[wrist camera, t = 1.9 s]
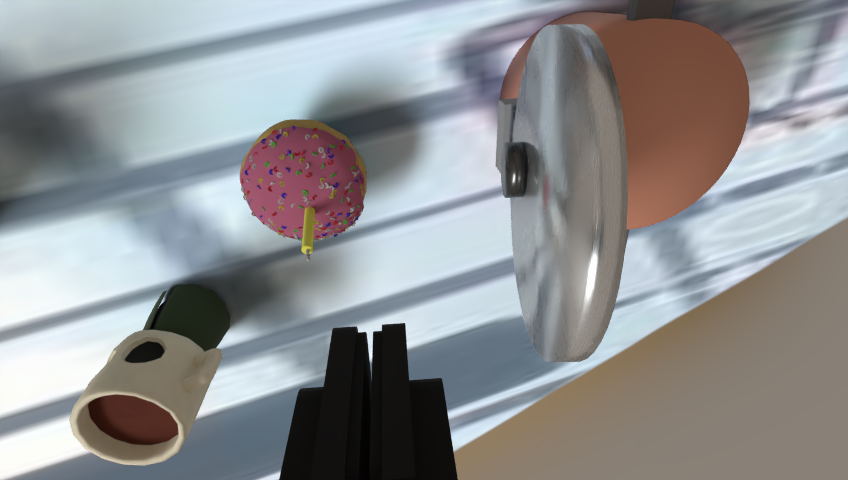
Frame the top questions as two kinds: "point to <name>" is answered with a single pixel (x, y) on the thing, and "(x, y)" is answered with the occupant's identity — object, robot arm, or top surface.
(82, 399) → the character mug
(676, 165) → the pot
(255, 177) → the cupcake
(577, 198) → the lid
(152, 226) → the top surface
